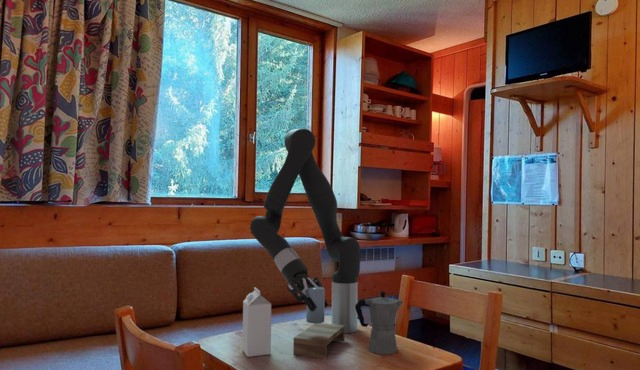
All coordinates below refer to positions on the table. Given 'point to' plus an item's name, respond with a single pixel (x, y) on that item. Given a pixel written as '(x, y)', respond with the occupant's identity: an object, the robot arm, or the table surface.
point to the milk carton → (256, 325)
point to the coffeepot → (380, 323)
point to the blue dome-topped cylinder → (319, 299)
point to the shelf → (317, 339)
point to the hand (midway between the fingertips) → (320, 307)
